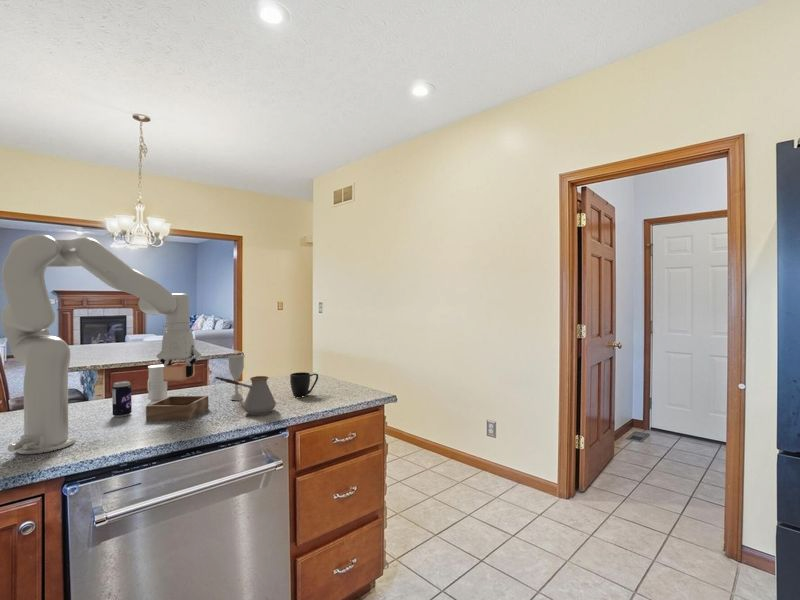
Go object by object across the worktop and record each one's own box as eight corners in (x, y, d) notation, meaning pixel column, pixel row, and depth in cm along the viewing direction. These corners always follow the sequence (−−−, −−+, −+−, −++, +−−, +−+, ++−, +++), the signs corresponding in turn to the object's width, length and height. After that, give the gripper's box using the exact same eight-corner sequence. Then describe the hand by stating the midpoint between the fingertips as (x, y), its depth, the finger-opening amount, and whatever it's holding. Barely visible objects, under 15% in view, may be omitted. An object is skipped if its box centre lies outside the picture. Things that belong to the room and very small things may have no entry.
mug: (321, 395, 175) (320, 373, 175) (293, 399, 169) (293, 376, 169) (315, 392, 182) (315, 370, 182) (288, 395, 176) (288, 373, 176)
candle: (145, 403, 164) (145, 366, 164) (164, 399, 170) (163, 364, 170) (150, 406, 160) (150, 367, 160) (170, 402, 165) (169, 365, 165)
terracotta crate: (181, 381, 143) (181, 367, 143) (163, 381, 143) (163, 367, 143) (194, 376, 152) (194, 362, 152) (177, 376, 152) (177, 363, 152)
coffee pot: (269, 406, 157) (269, 368, 157) (280, 413, 148) (280, 372, 148) (210, 416, 145) (209, 374, 145) (217, 424, 135) (217, 379, 135)
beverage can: (121, 418, 143) (121, 384, 143) (108, 417, 145) (108, 383, 145) (135, 413, 149) (135, 381, 149) (122, 413, 150) (122, 380, 150)
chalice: (245, 400, 167) (245, 356, 167) (227, 402, 165) (227, 357, 165) (245, 396, 174) (244, 354, 174) (227, 398, 172) (227, 355, 172)
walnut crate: (188, 420, 140) (188, 405, 140) (146, 420, 140) (146, 406, 140) (208, 408, 155) (208, 395, 155) (170, 409, 155) (170, 396, 155)
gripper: (148, 328, 144) (149, 379, 144) (196, 328, 144) (198, 378, 144) (160, 327, 151) (162, 375, 152) (207, 326, 151) (208, 374, 152)
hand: (179, 376), depth 148 cm, fingers closed on terracotta crate, 6 cm apart
